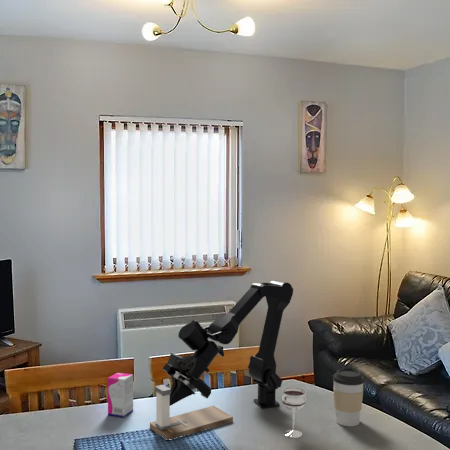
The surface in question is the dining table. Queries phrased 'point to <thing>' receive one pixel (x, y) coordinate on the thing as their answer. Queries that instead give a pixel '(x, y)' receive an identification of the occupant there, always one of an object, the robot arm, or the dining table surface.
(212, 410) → the wooden board
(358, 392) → the coffee cup
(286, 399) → the wineglass
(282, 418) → the dining table surface
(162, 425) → the lever
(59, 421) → the dining table surface
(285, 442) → the dining table surface
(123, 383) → the supplement box
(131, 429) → the dining table surface
